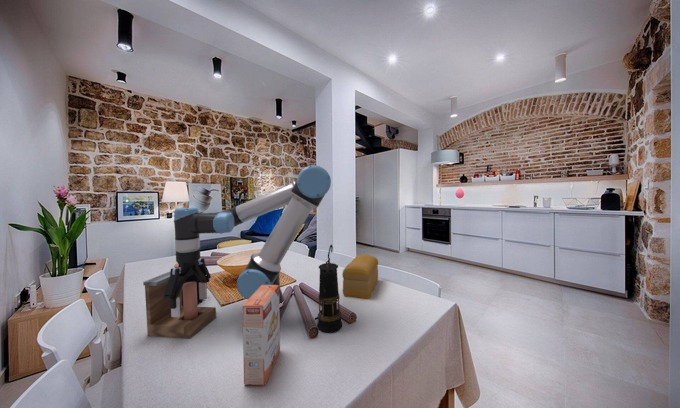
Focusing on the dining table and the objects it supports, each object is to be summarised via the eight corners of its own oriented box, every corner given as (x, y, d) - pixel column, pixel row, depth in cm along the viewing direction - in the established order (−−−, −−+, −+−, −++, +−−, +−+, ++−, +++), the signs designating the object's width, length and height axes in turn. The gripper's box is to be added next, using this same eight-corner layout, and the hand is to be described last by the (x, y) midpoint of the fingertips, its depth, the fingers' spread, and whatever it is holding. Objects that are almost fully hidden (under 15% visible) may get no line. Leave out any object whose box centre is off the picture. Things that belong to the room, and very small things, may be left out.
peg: (201, 323, 91) (199, 281, 90) (192, 330, 86) (190, 286, 86) (190, 322, 91) (188, 281, 90) (181, 329, 87) (179, 285, 86)
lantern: (312, 330, 85) (311, 246, 84) (324, 317, 93) (322, 241, 92) (336, 335, 82) (335, 248, 80) (345, 322, 90) (344, 242, 89)
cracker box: (266, 386, 60) (264, 305, 59) (243, 386, 61) (240, 305, 60) (281, 350, 74) (280, 283, 73) (262, 350, 75) (260, 284, 74)
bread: (369, 300, 108) (369, 267, 108) (342, 296, 112) (341, 265, 112) (378, 281, 131) (378, 254, 131) (355, 278, 136) (355, 252, 135)
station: (216, 316, 96) (214, 269, 95) (188, 339, 81) (186, 283, 80) (180, 314, 97) (178, 268, 97) (146, 336, 83) (143, 281, 82)
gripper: (202, 242, 100) (204, 292, 101) (147, 259, 76) (150, 325, 76) (218, 243, 99) (220, 293, 100) (169, 259, 75) (172, 326, 76)
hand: (190, 307), depth 88 cm, fingers open, 13 cm apart
